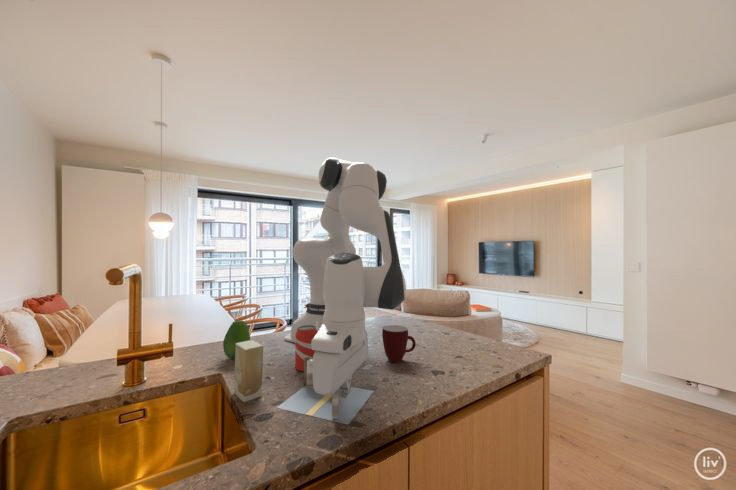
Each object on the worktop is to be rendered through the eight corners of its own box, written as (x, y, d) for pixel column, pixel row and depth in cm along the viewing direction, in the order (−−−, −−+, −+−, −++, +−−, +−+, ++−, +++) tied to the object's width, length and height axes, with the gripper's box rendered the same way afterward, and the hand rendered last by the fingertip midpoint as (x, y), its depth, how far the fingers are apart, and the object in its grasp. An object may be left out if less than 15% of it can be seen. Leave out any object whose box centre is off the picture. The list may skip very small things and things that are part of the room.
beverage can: (318, 372, 85) (318, 329, 85) (294, 374, 83) (295, 330, 84) (317, 364, 91) (317, 324, 91) (295, 365, 89) (296, 325, 89)
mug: (409, 354, 100) (410, 324, 100) (419, 363, 92) (419, 330, 92) (379, 356, 98) (379, 325, 98) (386, 366, 90) (386, 332, 90)
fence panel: (332, 390, 72) (332, 364, 72) (337, 390, 72) (338, 364, 72) (331, 418, 60) (331, 387, 60) (338, 418, 60) (338, 386, 60)
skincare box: (233, 394, 71) (234, 342, 72) (251, 388, 74) (252, 339, 75) (244, 404, 67) (245, 349, 67) (263, 397, 70) (263, 345, 70)
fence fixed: (302, 385, 76) (303, 357, 76) (305, 383, 77) (306, 355, 77) (336, 391, 72) (336, 362, 72) (338, 389, 74) (339, 360, 74)
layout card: (276, 409, 65) (276, 407, 65) (312, 381, 79) (312, 379, 79) (348, 426, 59) (348, 424, 59) (373, 392, 73) (373, 390, 73)
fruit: (219, 357, 95) (220, 319, 95) (244, 352, 100) (245, 316, 101) (227, 365, 89) (227, 324, 89) (253, 359, 94) (254, 320, 95)
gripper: (350, 317, 74) (350, 373, 75) (306, 344, 55) (306, 418, 55) (374, 319, 72) (374, 376, 72) (337, 348, 53) (337, 425, 53)
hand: (344, 395), depth 64 cm, fingers closed
